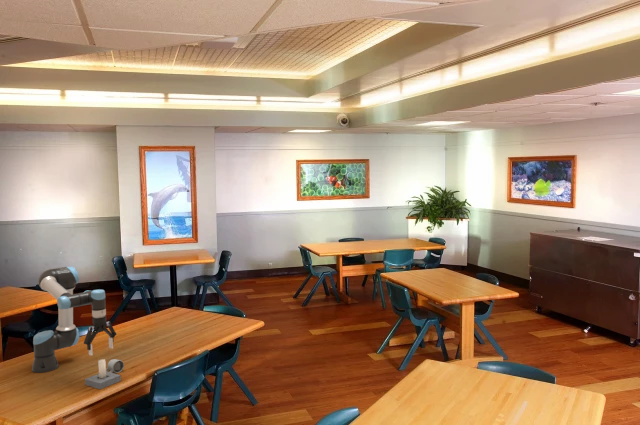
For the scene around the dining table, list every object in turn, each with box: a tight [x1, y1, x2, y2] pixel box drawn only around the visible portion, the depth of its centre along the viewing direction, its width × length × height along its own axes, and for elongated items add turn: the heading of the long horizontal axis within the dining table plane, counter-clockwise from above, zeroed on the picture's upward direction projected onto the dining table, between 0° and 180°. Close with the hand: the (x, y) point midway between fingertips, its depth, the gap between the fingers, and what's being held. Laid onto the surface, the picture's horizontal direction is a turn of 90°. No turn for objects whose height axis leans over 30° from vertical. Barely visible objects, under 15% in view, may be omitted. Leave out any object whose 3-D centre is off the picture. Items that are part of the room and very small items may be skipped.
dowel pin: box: [97, 358, 107, 380], centre depth 310 cm, size 4×4×12 cm
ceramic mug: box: [106, 358, 125, 374], centre depth 328 cm, size 11×8×8 cm
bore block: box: [84, 371, 122, 390], centre depth 311 cm, size 14×14×4 cm
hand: (101, 351), depth 310 cm, fingers open, 13 cm apart
